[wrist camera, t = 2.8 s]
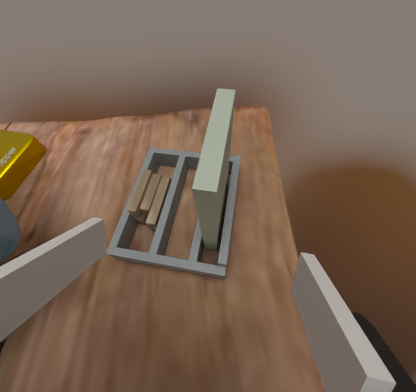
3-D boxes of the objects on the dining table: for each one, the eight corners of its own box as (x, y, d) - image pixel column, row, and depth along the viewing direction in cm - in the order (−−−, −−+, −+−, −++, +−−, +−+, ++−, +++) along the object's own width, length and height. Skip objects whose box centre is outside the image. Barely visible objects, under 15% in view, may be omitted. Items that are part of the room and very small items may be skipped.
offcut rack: (117, 258, 33) (98, 250, 28) (155, 159, 43) (146, 139, 38) (223, 279, 31) (225, 274, 26) (238, 170, 41) (241, 150, 35)
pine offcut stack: (137, 228, 35) (124, 216, 30) (153, 186, 40) (143, 169, 34) (161, 232, 35) (151, 220, 30) (174, 189, 39) (168, 172, 34)
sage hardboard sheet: (204, 249, 33) (191, 188, 16) (217, 184, 39) (217, 88, 22) (216, 251, 33) (216, 192, 15) (226, 185, 39) (235, 89, 21)
